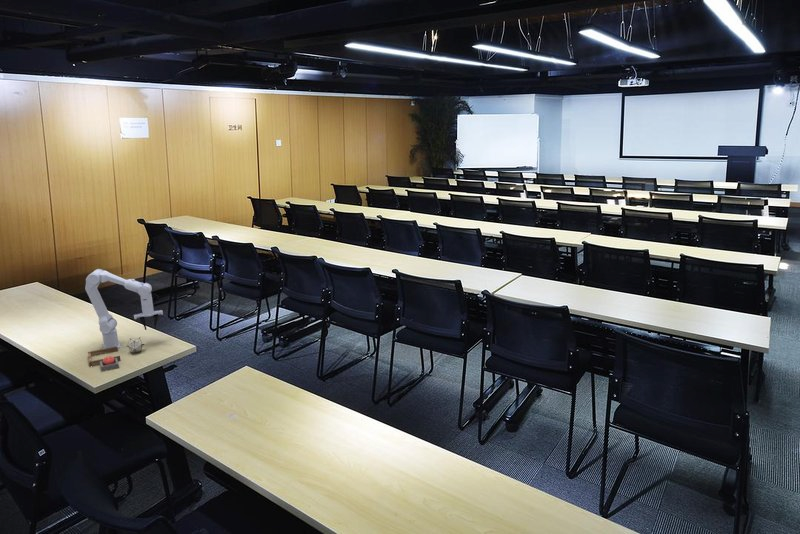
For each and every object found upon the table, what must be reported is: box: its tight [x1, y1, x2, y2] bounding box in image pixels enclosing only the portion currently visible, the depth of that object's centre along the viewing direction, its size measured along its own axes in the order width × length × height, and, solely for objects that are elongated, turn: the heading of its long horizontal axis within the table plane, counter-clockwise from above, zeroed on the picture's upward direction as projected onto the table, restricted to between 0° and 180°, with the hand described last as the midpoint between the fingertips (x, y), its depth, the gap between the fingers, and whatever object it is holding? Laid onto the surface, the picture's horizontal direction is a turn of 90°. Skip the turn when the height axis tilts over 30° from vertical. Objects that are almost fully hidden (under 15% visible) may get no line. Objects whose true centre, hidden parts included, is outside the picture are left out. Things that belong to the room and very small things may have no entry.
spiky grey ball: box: [125, 336, 145, 354], centre depth 297 cm, size 9×8×10 cm
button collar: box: [99, 358, 120, 372], centre depth 280 cm, size 8×8×2 cm
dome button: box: [102, 355, 115, 366], centre depth 279 cm, size 5×5×4 cm
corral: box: [87, 346, 122, 368], centre depth 289 cm, size 15×14×2 cm
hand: (150, 328), depth 305 cm, fingers open, 4 cm apart
